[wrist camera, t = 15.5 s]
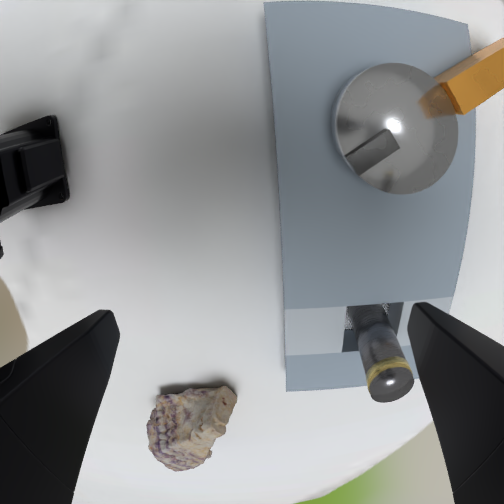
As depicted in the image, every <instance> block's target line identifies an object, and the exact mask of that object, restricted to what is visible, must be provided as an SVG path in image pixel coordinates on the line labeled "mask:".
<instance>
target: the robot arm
mask: <svg viewBox="0 0 504 504" xmlns="http://www.w3.org/2000/svg"><path fill="white" fill-rule="evenodd" d="M50 120H51V124H50V123H49V121H50ZM61 193H62V194H63V195H64V198H63V197H62V195H61ZM68 199H69V191H68V187H67V182H66V176H65V171H64V165H63V159H62V153H61V147H60V140H59V133H58V125H57V119H56V117H55V116H54V115H50V116H46V117H43V118H40V119H38V120H35V121H33V122H30V123H27V124H25V125H23V126H20V127H18V128H15V129H13V130H11V131H8V132H6V133H4V134H2V135H0V223H1V222H3V221H4V220H6V219H8V218H10V217H11V216H13V215H15V214H17V213H18V212H20V211H22V210H25V209H30V208H35V207H41V206H46V205H52V204H58V203H63V202H65V201H67V200H68ZM3 255H4V253H3V247H2V246H1V242H0V259H1V257H2V256H3ZM407 332H408V336H409V340H410V344H411V348H412V352H413V356H414V360H415V364H416V368H417V372H418V375H419V379H420V381H421V384H422V387H423V390H424V393H425V396H426V399H427V402H428V405H429V408H430V411H431V414H432V418H433V421H434V424H435V427H436V431H437V434H438V438H439V441H440V444H441V448H442V452H443V455H444V459H445V463H446V467H447V471H448V475H449V479H450V483H451V488H452V492H453V497H454V502H455V504H504V346H502V345H501V344H499V343H497V342H496V341H494V340H492V339H491V338H489V337H487V336H486V335H484V334H482V333H480V332H479V331H477V330H475V329H474V328H472V327H470V326H468V325H467V324H465V323H463V322H461V321H460V320H458V319H456V318H454V317H453V316H451V315H449V314H447V313H446V312H444V311H442V310H440V309H438V308H437V307H435V306H433V305H431V304H430V303H428V302H417V303H414V304H413V306H412V309H411V313H410V317H409V321H408V325H407ZM119 339H120V332H119V328H118V326H117V323H116V320H115V317H114V314H113V312H112V311H111V310H98V311H96V312H94V313H92V314H91V315H89V316H87V317H86V318H84V319H82V320H80V321H79V322H77V323H75V324H73V325H72V326H70V327H68V328H67V329H65V330H63V331H61V332H60V333H58V334H56V335H55V336H53V337H51V338H50V339H48V340H46V341H44V342H43V343H41V344H39V345H38V346H36V347H34V348H33V349H31V350H29V351H28V352H26V353H24V354H23V355H21V356H19V357H18V358H17V359H14V360H13V361H11V362H9V363H8V364H6V365H4V366H3V367H1V368H0V504H71V503H72V499H73V495H74V491H75V487H76V483H77V479H78V476H79V472H80V468H81V465H82V461H83V458H84V454H85V451H86V448H87V444H88V441H89V438H90V435H91V432H92V428H93V425H94V422H95V419H96V416H97V413H98V410H99V407H100V404H101V401H102V398H103V396H104V393H105V390H106V387H107V384H108V381H109V378H110V374H111V371H112V366H113V362H114V358H115V354H116V351H117V347H118V343H119Z"/></svg>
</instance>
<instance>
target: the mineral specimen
mask: <svg viewBox="0 0 504 504" xmlns="http://www.w3.org/2000/svg"><path fill="white" fill-rule="evenodd" d="M236 403H237V396H236V395H235V394H234V393H233V392H232V391H231V390H230V389H229V388H228V387H227V386H221V387H219V388H200V389H192V388H189V389H187V390H185V391H184V392H183V393H181V394H167V395H157V396H156V408H154V409H153V411H152V412H151V416H150V419H151V420H149V421H148V423H147V425H146V426H147V435H148V439H149V446H148V447H149V450H150V451H151V452H152V453H153V455H154V457H155V458H156V459H157V460H158V461H160V462H162V463H163V464H165V466H166V467H167V468H169V469H172V470H173V471H183V470H188V469H194V468H195V467H197V466H199V465H200V464H203V463H204V461H205V459H206V458H210V457H211V455H212V451H210V449H211V447H212V446H213V444H214V442H215V439H216V438H218V437H220V436H222V435H224V434H225V432H226V426H225V425H226V424H227V423H228V421H229V418H230V416H231V414H232V411H233V408H234V406H235V404H236Z"/></svg>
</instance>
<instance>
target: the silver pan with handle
mask: <svg viewBox="0 0 504 504" xmlns="http://www.w3.org/2000/svg"><path fill="white" fill-rule="evenodd" d="M503 88H504V38H501V39H500V40H498V41H496V42H494V43H493V44H491V45H489V46H487V47H485V48H484V49H482V50H480V51H479V52H477V53H475V54H473V55H472V56H470V57H468V58H466V59H465V60H463V61H461V62H460V63H458V64H456V65H455V66H453V67H451V68H450V69H448V70H446V71H445V72H443V73H441V74H440V75H438V76H436V77H435V78H432V77H431V76H430V75H429V74H427V73H426V72H424V71H422V70H421V69H418V68H416V67H414V66H411V65H407V64H402V63H385V64H380V65H377V66H374V67H371V68H369V69H366V70H364V71H362V72H360V73H358V74H356V75H354V76H353V77H351V78H350V79H349V80H348V81H347V82H346V83H345V84H344V85H343V86H342V87H341V89H340V90H339V92H338V93H337V95H336V97H335V100H334V102H333V105H332V109H331V116H330V129H331V135H332V139H333V143H334V145H335V148H336V150H337V152H338V154H339V155H340V157H341V159H342V160H343V161H344V163H345V164H346V165H347V166H348V167H349V168H350V169H351V170H352V171H353V172H354V173H355V174H357V175H358V176H359V177H360V178H362V179H363V180H364V181H365V182H367V183H368V184H369V185H371V186H373V187H374V188H376V189H379V190H381V191H384V192H387V193H391V194H399V195H406V194H413V193H417V192H420V191H422V190H425V189H427V188H429V187H430V186H432V185H433V184H435V183H436V182H437V181H438V180H439V179H440V178H441V177H442V176H443V175H444V174H445V173H446V171H447V170H448V168H449V167H450V165H451V163H452V161H453V158H454V156H455V153H456V149H457V144H458V122H457V117H456V114H458V115H465V114H466V113H468V112H469V111H471V110H472V109H474V108H475V107H477V106H478V105H480V104H481V103H483V102H484V101H486V100H487V99H488V98H490V97H491V96H493V95H494V94H496V93H497V92H499V91H500V90H502V89H503Z"/></svg>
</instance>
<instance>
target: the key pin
mask: <svg viewBox="0 0 504 504" xmlns="http://www.w3.org/2000/svg"><path fill="white" fill-rule="evenodd" d="M348 315H349V318H350V322H351V325H352V329H353V332H354V335H355V339H356V342H357V346H358V349H359V353H360V357H361V360H362V364H363V368H364V371H365V375H366V382H367V386H368V390H369V393H370V394H371V397H372V399H373V400H375V401H377V402H391V401H395V400H397V399H399V398H401V397H403V396H404V395H406V394H407V393H408V392H409V391H410V390H411V388H412V387H413V384H414V378H413V373H412V370H411V368H410V366H409V363H408V361H407V360H406V358H405V356H404V353H403V351H402V349H401V346H400V344H399V342H398V339H397V337H396V335H395V332H394V330H393V328H392V326H391V323H390V321H389V319H388V317H387V315H386V312H385V310H384V308H383V306H382V304H371V305H358V306H348Z"/></svg>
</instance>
